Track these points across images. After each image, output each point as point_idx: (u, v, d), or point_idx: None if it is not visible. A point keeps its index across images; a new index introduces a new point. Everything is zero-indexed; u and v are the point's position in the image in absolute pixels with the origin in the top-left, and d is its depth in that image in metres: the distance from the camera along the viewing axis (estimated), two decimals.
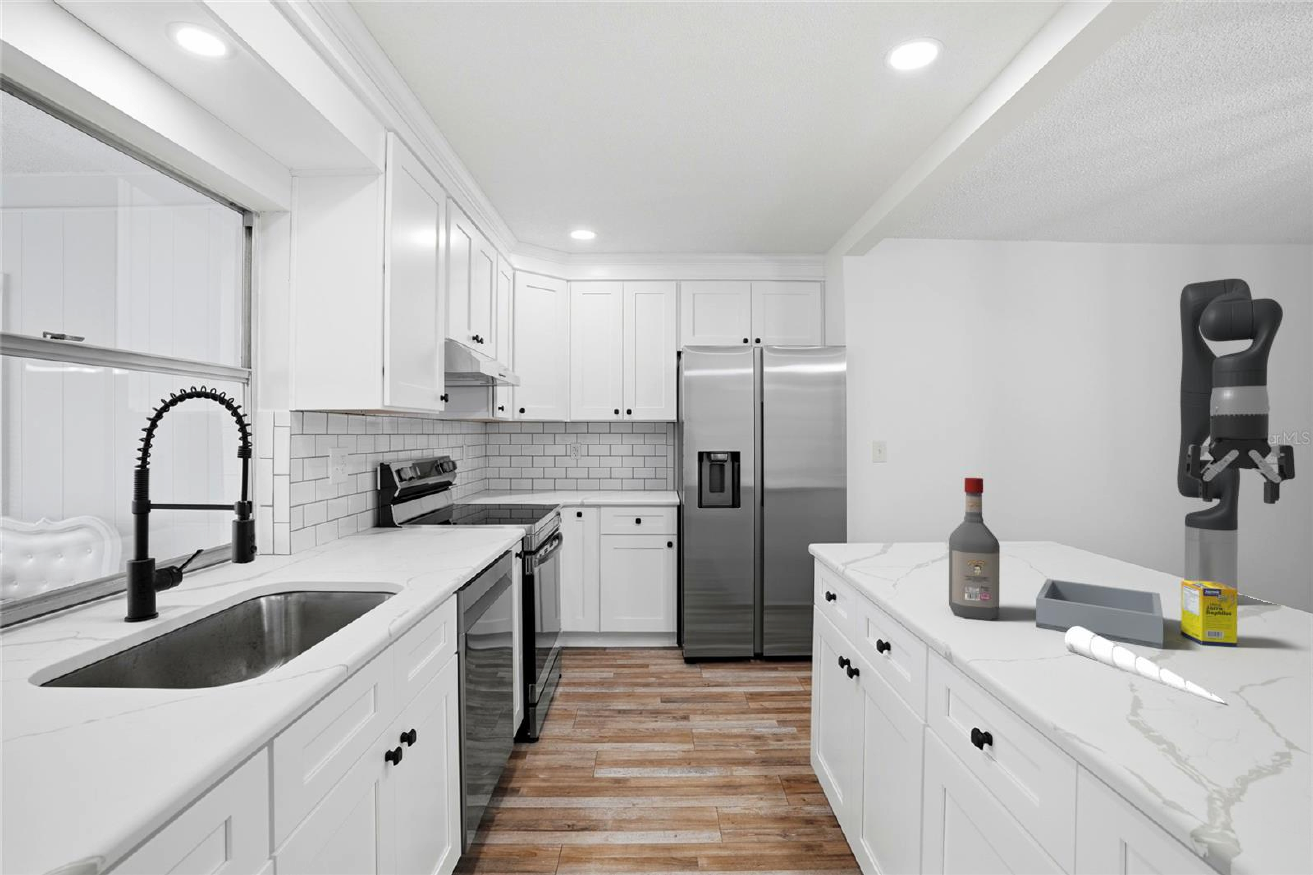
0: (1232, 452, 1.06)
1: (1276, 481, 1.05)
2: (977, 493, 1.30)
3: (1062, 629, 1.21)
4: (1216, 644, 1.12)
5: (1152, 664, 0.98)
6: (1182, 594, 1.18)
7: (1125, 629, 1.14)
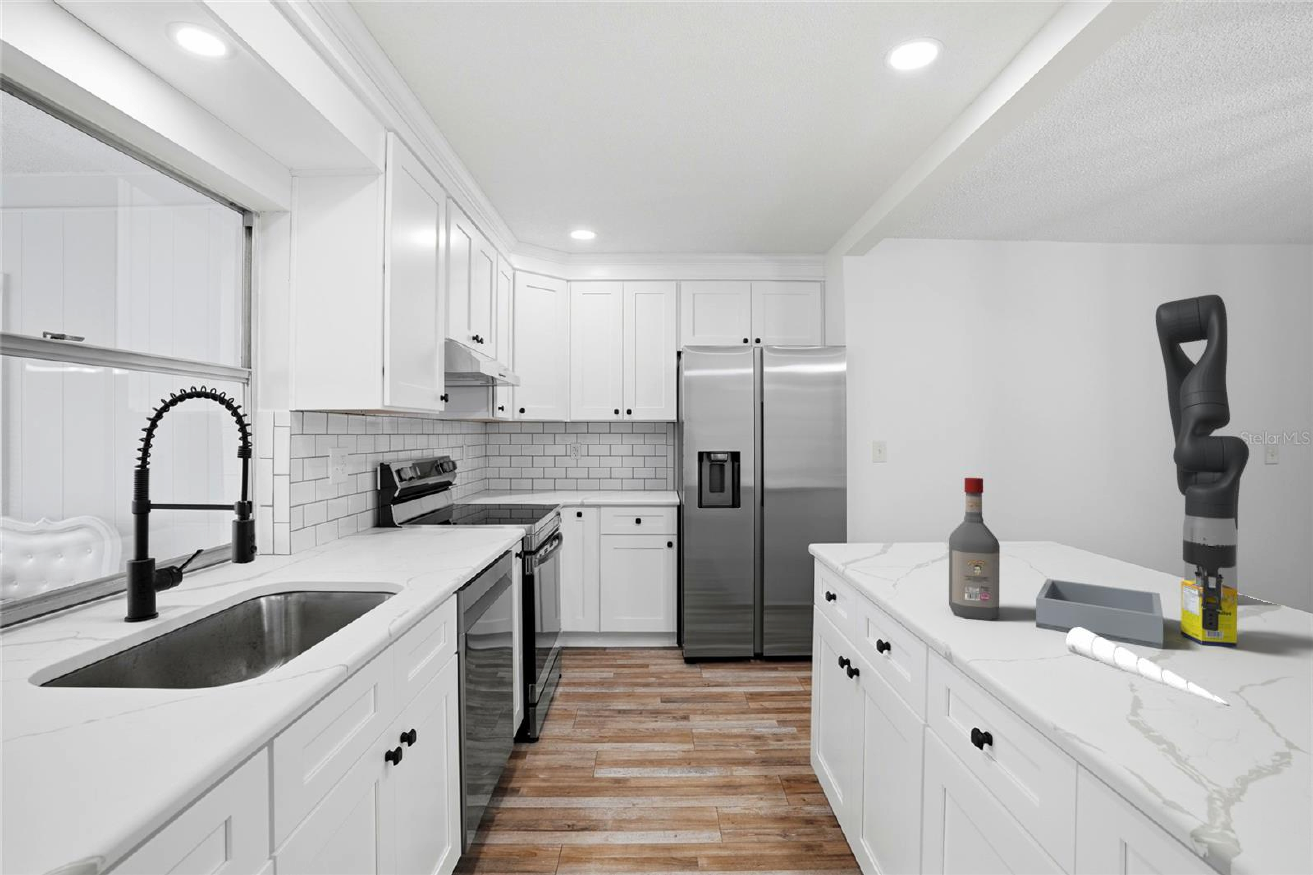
0: None
1: None
2: (977, 493, 1.30)
3: (1062, 629, 1.21)
4: (1216, 644, 1.12)
5: (1154, 665, 0.98)
6: (1182, 594, 1.18)
7: (1125, 629, 1.14)
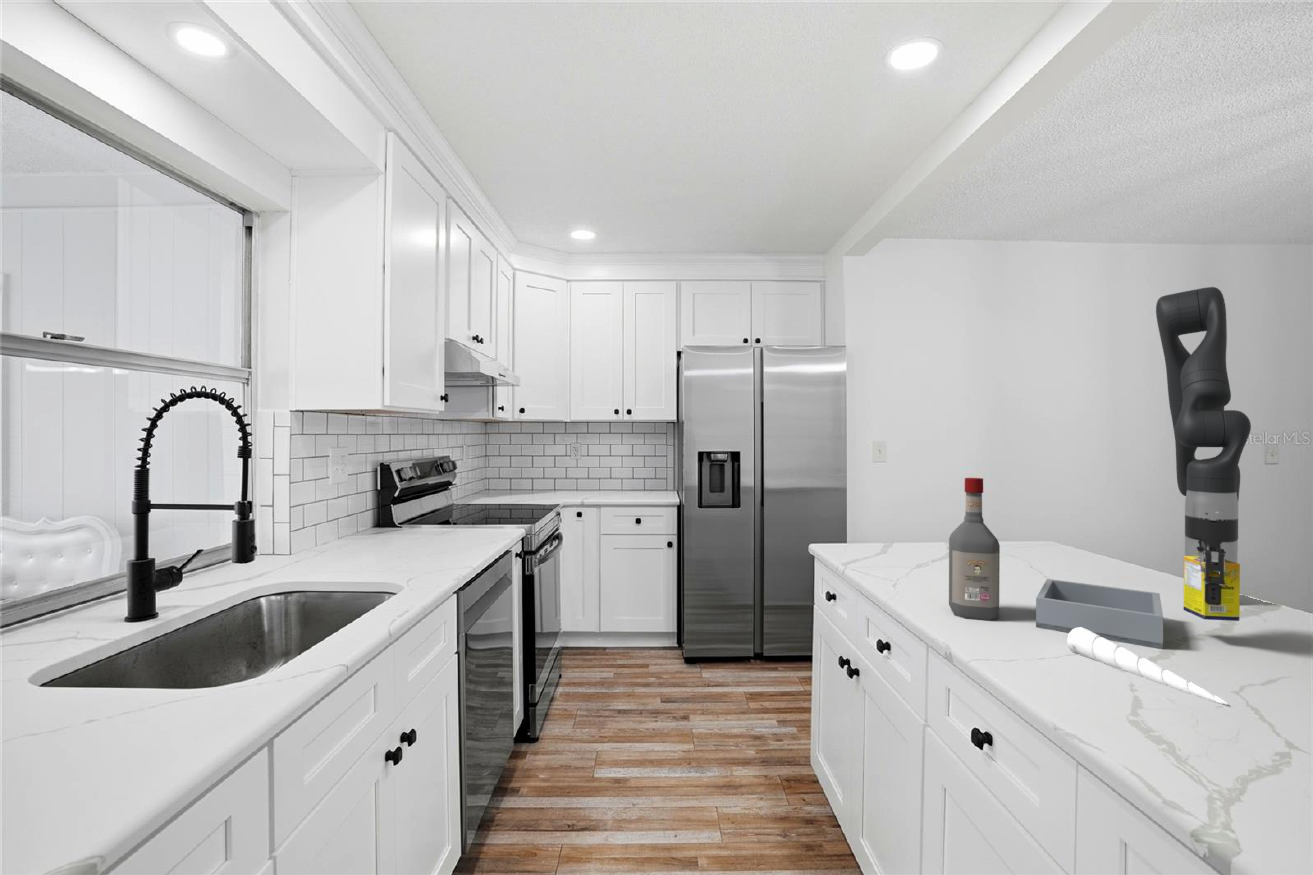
0: (1225, 554, 1.12)
1: None
2: (977, 493, 1.30)
3: (1062, 629, 1.21)
4: (1219, 618, 1.12)
5: (1154, 665, 0.97)
6: (1184, 570, 1.18)
7: (1125, 629, 1.14)
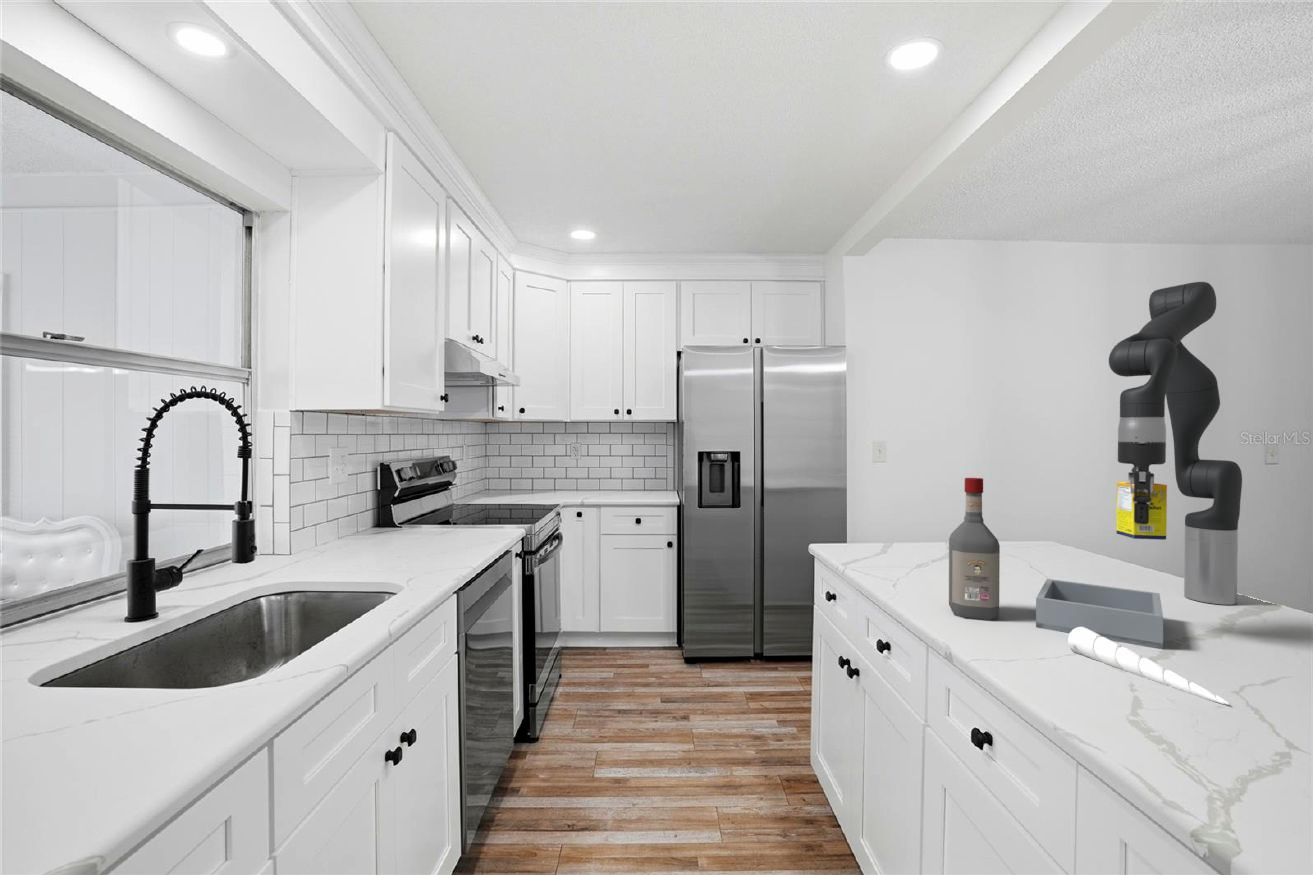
0: (1153, 476, 1.18)
1: None
2: (977, 493, 1.30)
3: (1062, 629, 1.21)
4: (1147, 537, 1.18)
5: (1156, 665, 0.97)
6: (1117, 495, 1.23)
7: (1125, 629, 1.14)
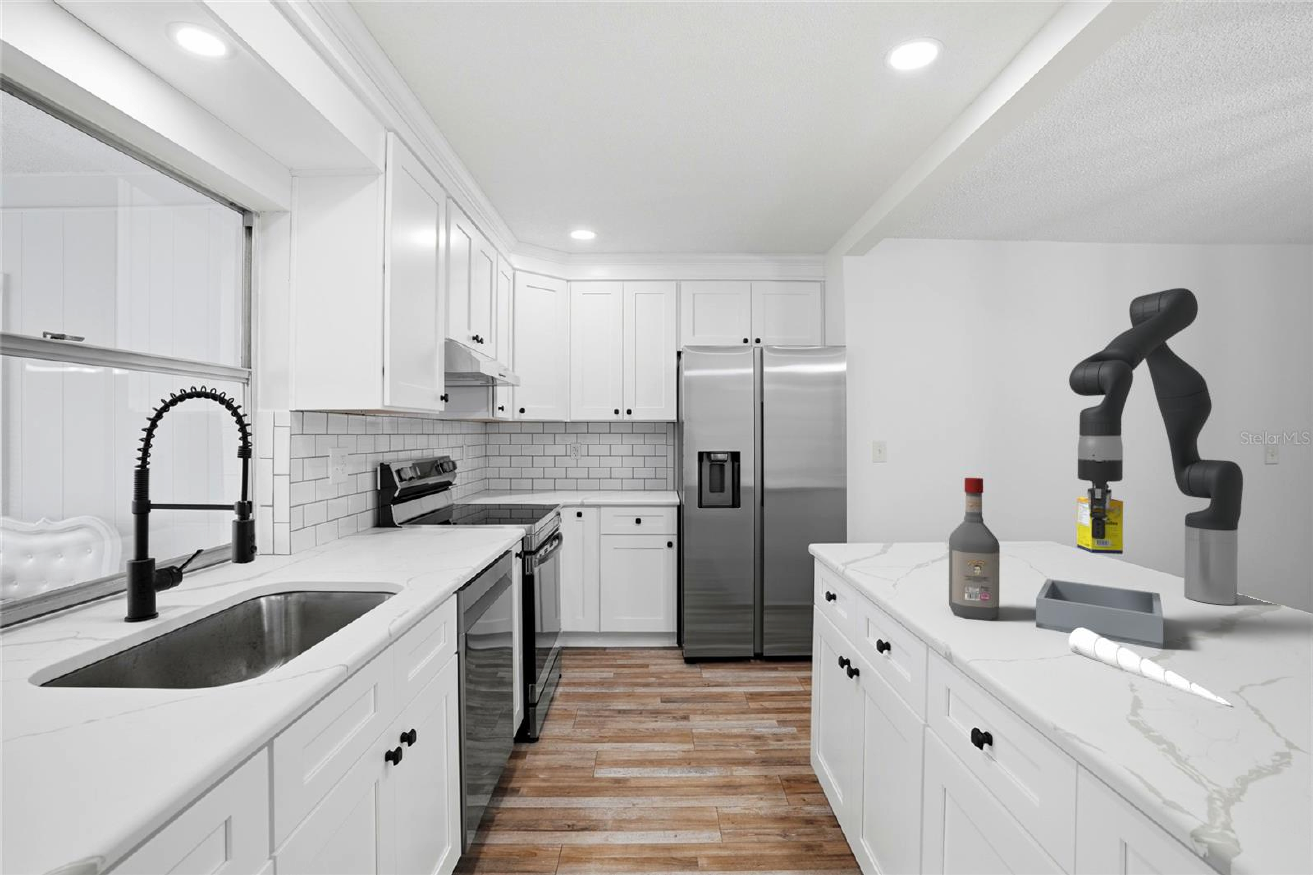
0: (1110, 492, 1.22)
1: None
2: (977, 493, 1.30)
3: (1062, 629, 1.21)
4: (1104, 552, 1.22)
5: (1157, 666, 0.97)
6: (1078, 510, 1.28)
7: (1125, 629, 1.14)
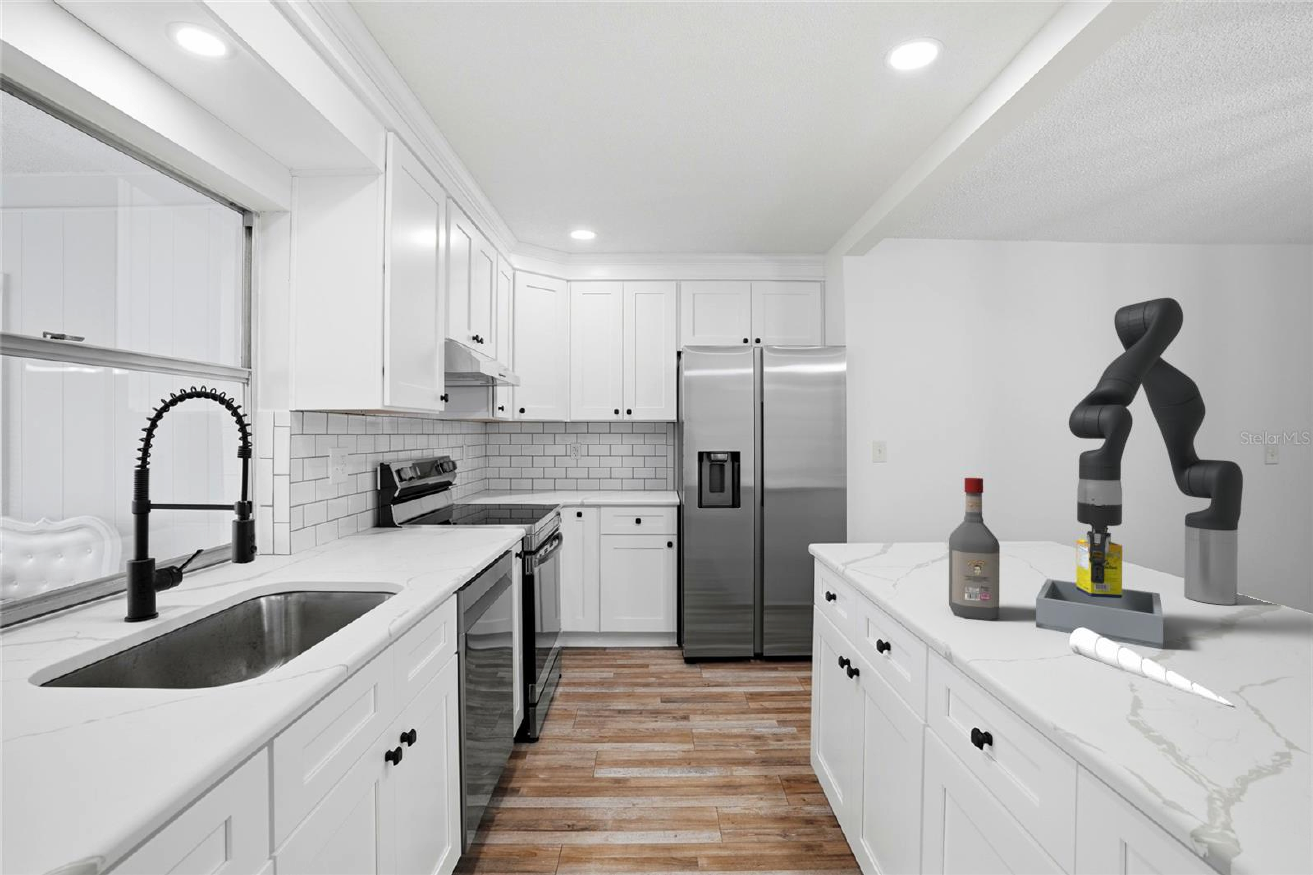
0: (1110, 537, 1.22)
1: None
2: (977, 493, 1.30)
3: (1062, 629, 1.21)
4: (1103, 596, 1.22)
5: (1158, 666, 0.97)
6: (1077, 552, 1.28)
7: (1125, 629, 1.14)
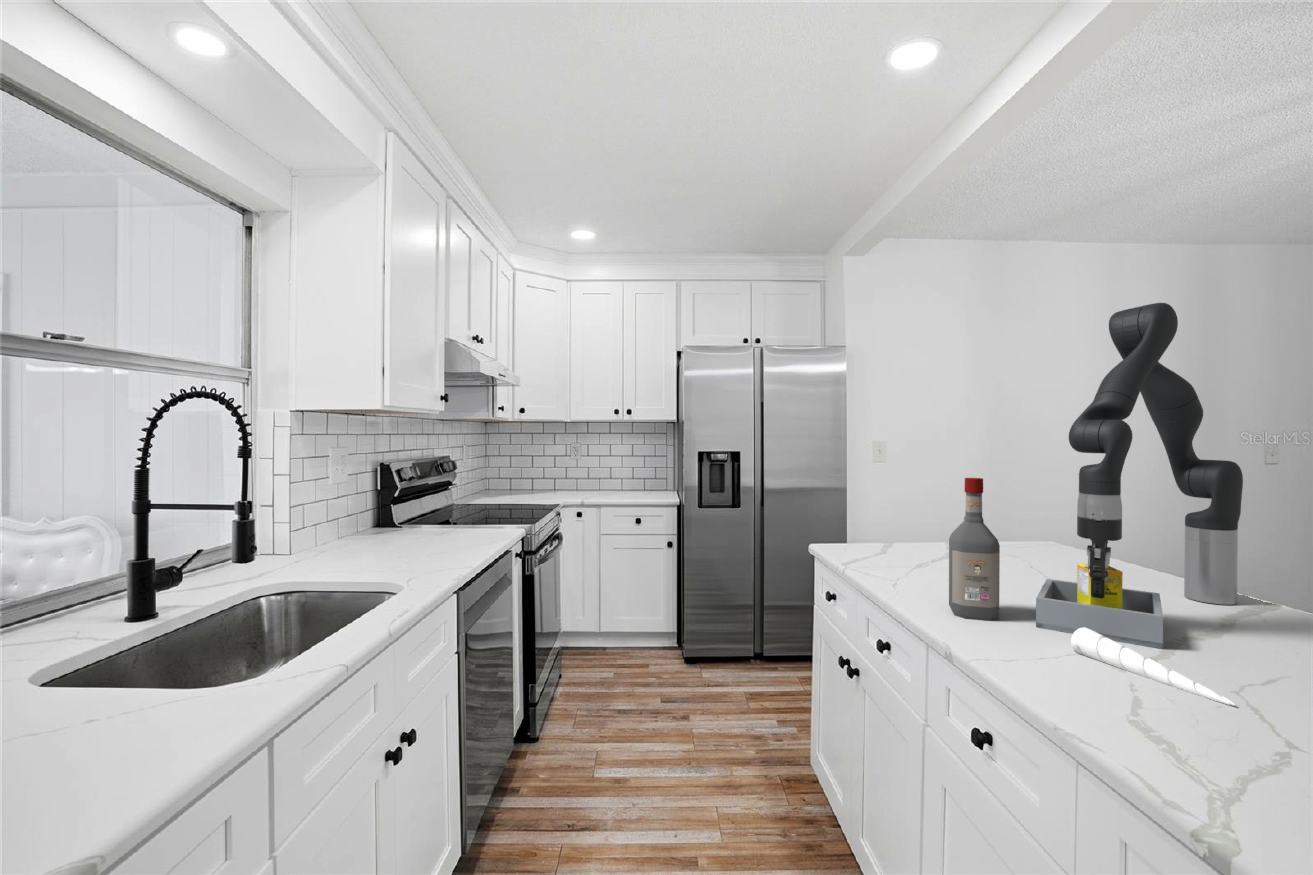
0: (1110, 551, 1.22)
1: None
2: (977, 493, 1.30)
3: (1062, 629, 1.21)
4: None
5: (1160, 666, 0.97)
6: (1078, 576, 1.28)
7: (1125, 629, 1.14)
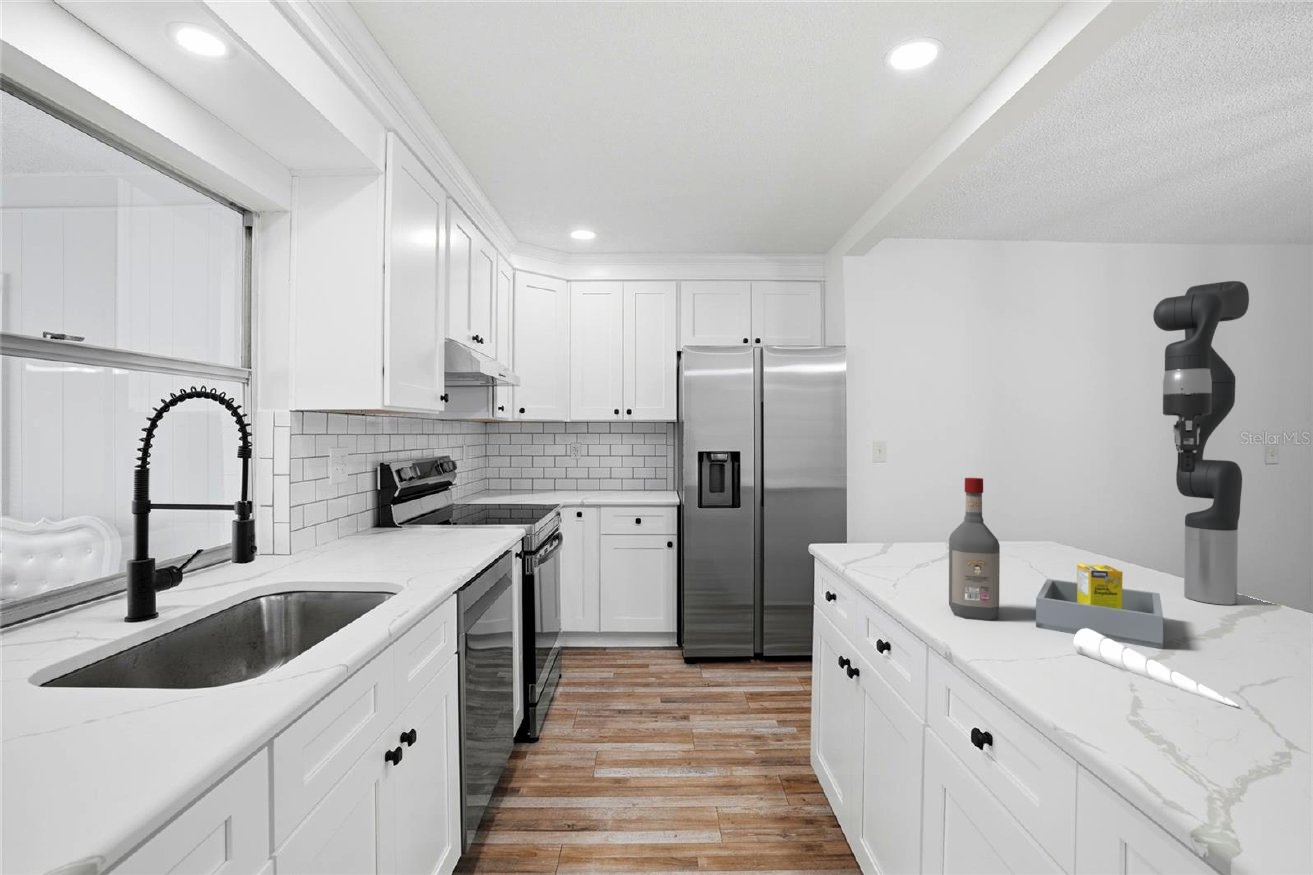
0: (1199, 426, 1.21)
1: None
2: (977, 493, 1.30)
3: (1062, 629, 1.21)
4: None
5: (1163, 667, 0.97)
6: (1078, 576, 1.28)
7: (1125, 629, 1.14)
